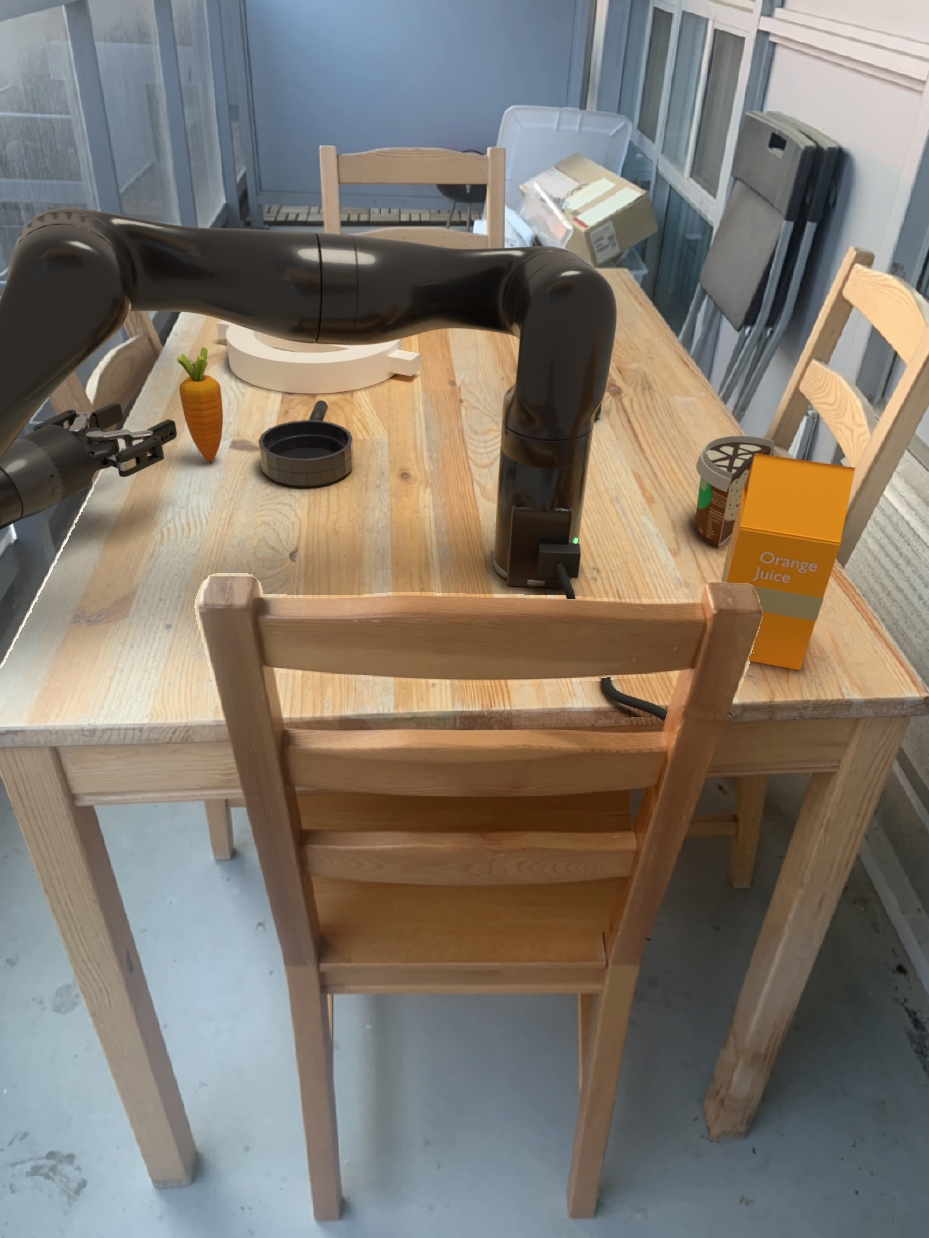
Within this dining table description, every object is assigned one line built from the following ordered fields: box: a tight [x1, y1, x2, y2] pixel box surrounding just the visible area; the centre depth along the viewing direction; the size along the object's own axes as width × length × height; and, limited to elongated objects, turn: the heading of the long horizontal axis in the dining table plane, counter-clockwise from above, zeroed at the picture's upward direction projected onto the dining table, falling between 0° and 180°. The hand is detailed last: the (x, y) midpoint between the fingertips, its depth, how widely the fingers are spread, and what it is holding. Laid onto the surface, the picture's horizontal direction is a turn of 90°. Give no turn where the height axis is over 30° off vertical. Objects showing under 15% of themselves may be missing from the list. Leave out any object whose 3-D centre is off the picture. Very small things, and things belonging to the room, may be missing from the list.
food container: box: [694, 435, 776, 549], centre depth 108 cm, size 12×6×10 cm, turn 141°
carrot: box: [176, 346, 224, 463], centre depth 116 cm, size 5×5×15 cm
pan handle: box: [308, 399, 329, 421], centre depth 125 cm, size 7×2×2 cm, turn 178°
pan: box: [258, 419, 355, 488], centre depth 119 cm, size 12×12×4 cm
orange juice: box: [720, 453, 856, 671], centre depth 87 cm, size 8×9×20 cm
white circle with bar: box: [216, 320, 421, 395], centre depth 149 cm, size 28×28×5 cm
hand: (146, 419), depth 108 cm, fingers open, 8 cm apart
